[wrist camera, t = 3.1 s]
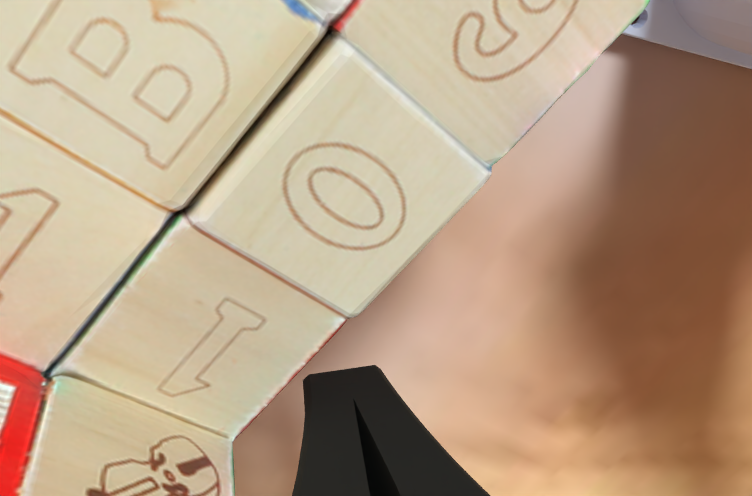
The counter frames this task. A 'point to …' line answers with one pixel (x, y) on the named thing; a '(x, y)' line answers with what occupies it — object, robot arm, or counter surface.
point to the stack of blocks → (231, 203)
